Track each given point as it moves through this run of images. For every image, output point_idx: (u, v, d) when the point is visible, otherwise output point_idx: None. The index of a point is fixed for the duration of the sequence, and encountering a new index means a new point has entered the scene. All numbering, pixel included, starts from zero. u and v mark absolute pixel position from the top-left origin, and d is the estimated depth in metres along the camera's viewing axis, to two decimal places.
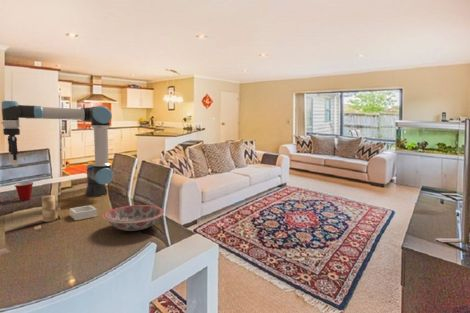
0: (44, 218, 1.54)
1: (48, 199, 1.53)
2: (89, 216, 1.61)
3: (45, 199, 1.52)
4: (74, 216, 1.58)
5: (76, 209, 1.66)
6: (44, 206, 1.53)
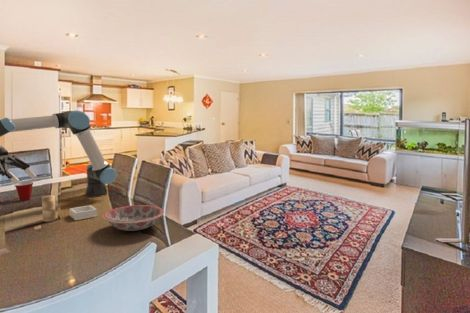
0: (44, 218, 1.54)
1: (48, 199, 1.53)
2: (89, 216, 1.61)
3: (45, 199, 1.52)
4: (74, 216, 1.58)
5: (76, 209, 1.66)
6: (44, 206, 1.53)
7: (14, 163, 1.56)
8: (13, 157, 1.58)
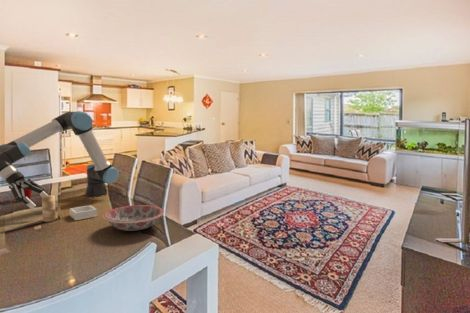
0: (44, 218, 1.54)
1: (48, 199, 1.53)
2: (89, 216, 1.61)
3: (45, 199, 1.52)
4: (74, 216, 1.58)
5: (76, 209, 1.66)
6: (44, 206, 1.53)
7: (30, 187, 1.57)
8: (29, 181, 1.59)
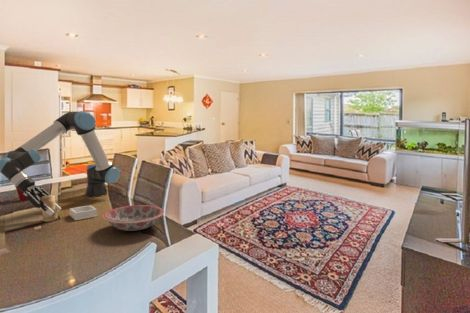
0: (44, 218, 1.54)
1: (48, 199, 1.53)
2: (89, 216, 1.61)
3: (45, 199, 1.52)
4: (74, 216, 1.58)
5: (76, 209, 1.66)
6: None
7: (40, 194, 1.57)
8: (40, 188, 1.60)
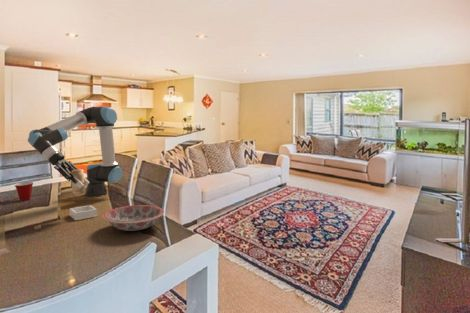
0: (74, 191, 1.59)
1: (78, 172, 1.58)
2: (89, 216, 1.61)
3: (75, 172, 1.58)
4: (74, 216, 1.58)
5: (76, 209, 1.66)
6: None
7: (69, 168, 1.62)
8: (69, 162, 1.65)
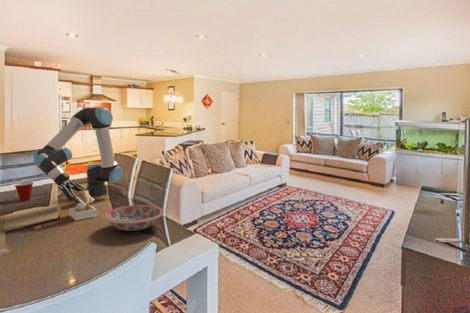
0: None
1: (83, 194, 1.61)
2: (89, 216, 1.61)
3: (80, 194, 1.60)
4: (74, 216, 1.58)
5: (76, 209, 1.66)
6: None
7: (74, 187, 1.65)
8: (73, 181, 1.68)
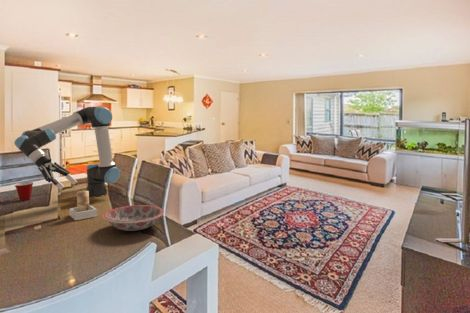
0: None
1: (83, 194, 1.61)
2: (89, 216, 1.61)
3: (80, 194, 1.60)
4: (74, 216, 1.58)
5: (76, 209, 1.66)
6: (79, 201, 1.61)
7: (57, 170, 1.64)
8: (55, 164, 1.66)
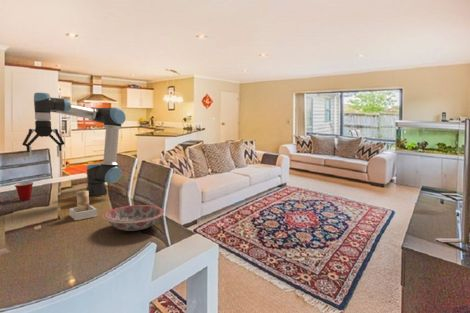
0: None
1: (83, 194, 1.61)
2: (89, 216, 1.61)
3: (80, 194, 1.60)
4: (74, 216, 1.58)
5: (76, 209, 1.66)
6: (79, 201, 1.61)
7: (50, 137, 1.67)
8: (55, 131, 1.68)
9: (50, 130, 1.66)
